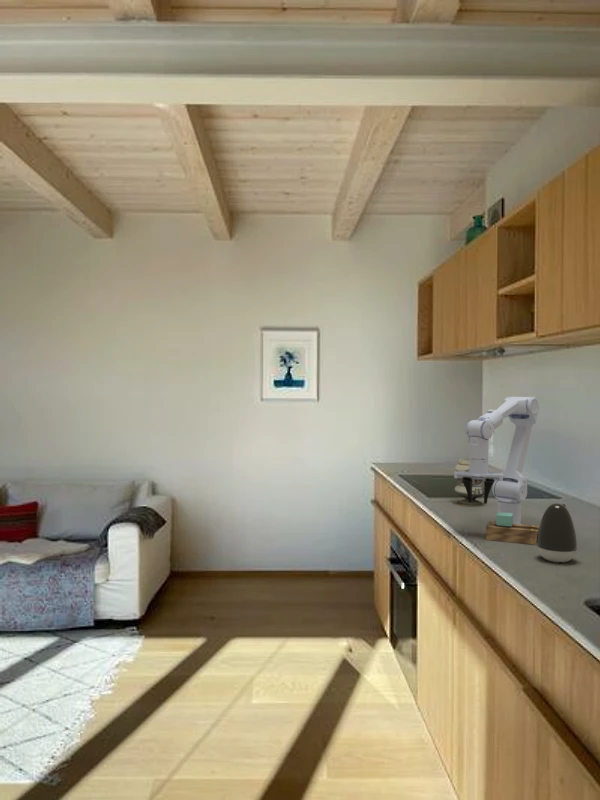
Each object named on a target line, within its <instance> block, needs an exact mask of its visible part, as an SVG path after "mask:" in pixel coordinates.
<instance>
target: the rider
mask: <svg viewBox="0 0 600 800" xmlns="http://www.w3.org/2000/svg"><path fill="white" fill-rule="evenodd" d="M495 519H496V521H495V522H496V525H497V526H503V527H512V524H513V513H503V512H498V511H497V513H496V518H495Z"/></svg>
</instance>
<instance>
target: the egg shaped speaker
mask: <svg viewBox="0 0 600 800" xmlns="http://www.w3.org/2000/svg"><path fill="white" fill-rule="evenodd" d="M538 526H539V529H538V534H537V540H536V545H535V546H537V550H538V553H539V554H540V555H541V558H543V559H544V560H547V561H548V562H552V563H559V562H562V563H567V562H570V561H571V560H572V559H574V557H575V555H576V552H577V550H578V548H579V547H578V539H577V533H576V528H575V524H574V521H573V518H572V516H571V513H570V512H569V510H568V508H567V507H566V504H564V503H552V504H550V505H549V506H547V508H546V509H545V511H544V512H543V515H542V517H541V520H540V523H539V525H538Z"/></svg>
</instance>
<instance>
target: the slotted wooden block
mask: <svg viewBox="0 0 600 800" xmlns="http://www.w3.org/2000/svg"><path fill="white" fill-rule="evenodd" d="M538 529H539V525H535V524H532V525H531V524H523V525H522V523H521V524H512V527H503V526H497V525H496V521H488V523H487V524H486V528H485V540H486V541H494V542H495V541H496V542H503V541H504V542H505V543H513V544H514V543H515V544H525V545H535V546H537V545H536V540H537V534H538ZM504 542H503V543H504Z"/></svg>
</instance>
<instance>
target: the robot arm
mask: <svg viewBox="0 0 600 800" xmlns="http://www.w3.org/2000/svg"><path fill="white" fill-rule="evenodd" d="M539 411H540V404H539V401H538V399H537V397H536V396H512V395H508V396H507V397H506V398H504V399H503V403H502V404H501V405H500V406H498V407H497V409H488V410H486V413H484V414H482V415H480V416H478V418H477V419H472V420H470V421H469V422H467V425H466V428H465V429H464V431H465V435H466V438H467V443H468V444H469V451H468V454H469V455H468V457H469V472H460V471H454V473H453V478H454V479H458V478H463V480H462V481H463V484H464V486H465V488H466V491H467V494H468V498H469V502H470V503H471V502H472V481H473V479H482V481H483V480H484V482H483V483H484V484H483V486H484V489H485V494H484V495H483V505H484V504H486V505H487V504H488V499H489V494H490V491H491V490H492V491H491V492H492V494H493V497H494V498H495V500H496V501H497V513H498V512H503V513H513V524H522V522H521V521H522V519H521V518H522V515H521V513H522V503H524V501H525V499H526V498H527V496H528V484H529V483H528V480H527V478H526V477H525V476H524V475H523V474H522V472H523V469H524V464H525V460H526V457H527V452H528V447H529V445H530V444H529V443H530V439H531V435H532V431H533V427H534V425H535V424H536V423H537V420H538V415H539ZM506 418H508V419H509V421H510V423H513V424H514V425H515V428H514V429H515V430H514V433H513V437H512V441H511V445H510V449H509V453H508V457H507V461H506V464H505V468H504V470H503V471H501V472H499V473H495V472H494V473H493V472H489V441H490V440H489V439H491V438H492V436H493V433H494V432H495V430H497V428H499V427H501V426H502V425H503V423H504V419H506ZM472 476H474V477H472ZM480 477H482V478H480ZM522 525H524V524H522Z"/></svg>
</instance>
